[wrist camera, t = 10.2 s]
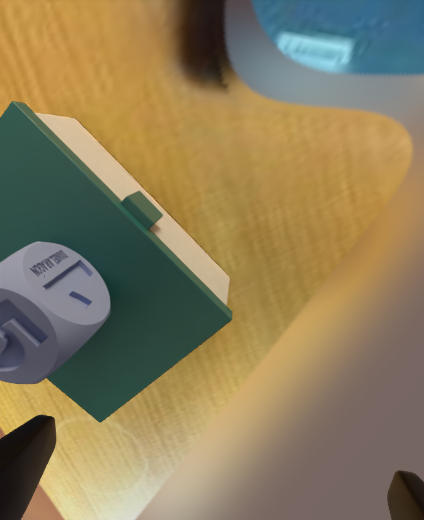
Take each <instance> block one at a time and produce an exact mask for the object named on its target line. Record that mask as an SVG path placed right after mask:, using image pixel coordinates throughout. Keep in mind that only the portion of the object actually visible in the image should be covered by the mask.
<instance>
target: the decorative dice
mask: <svg viewBox="0 0 424 520" xmlns="http://www.w3.org/2000/svg"><path fill="white" fill-rule="evenodd" d="M109 315H110V296H109V292H108V289H107V287H106V284H105V282H104V281H103V279H102V277H101V276H100V274H99V273H98V272H97V270H96V269H95V268H94V267H93V266H92V265H91V264H90V263H89V262H88V261H87V260H86V259H85V258H83V257H82V256H81V255H79V254H78V253H76V252H75V251H73V250H71V249H69V248H67V247H65V246H62V245H59V244H55V243H49V242H40V241H38V242H34V243H32V244H30V245H28V246H26V247H24V248H22V249H20V250H19V251H17V252H15V253H14V254H12V255H11V256H9V257H8V258H6V259H5V260H3V261H2V262H0V380H1V381H4V382H9V383H15V384H36V383H39V382H41V381H42V380H44V379H45V378H47V377H48V376H49V375H51V374H52V373H53V372H54V371H55V370H57V369H58V368H59V367H60V366H61V365H62V364H63V363H65V362H66V361H67V360H68V359H69V358H70V357H71V356H72V355H73V354H74V353H75V352H76V351H78V350H79V349H80V348H81V347H82V346H83V345H84V344H85V343H86V342H87V341H88V340H89V339H90V338H91V337H92V335H93V334H94V333H95V332H96V331H97V330H98V329H99V328H100V327H101V326H102V324H103V323H104V322H105V321H106V319H107V318H108V317H109Z"/></svg>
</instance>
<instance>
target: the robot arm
mask: <svg viewBox="0 0 424 520" xmlns="http://www.w3.org/2000/svg"><path fill="white" fill-rule="evenodd" d="M55 445H56V427H55V419H54V418H53V417H52V416H46V415H38V416H36V417H34V418H32V419H31V420H29V421H28V422H26V423H24V424H23V425H21V426H20V427H18V428H17V429H15V430H13V431H12V432H10V433H9V434H7V435H5V436H4V437H2V438H1V439H0V520H21V518H22V516H23V514H24V512H25V511H26V509H27V507H28V505H29V502H30V500H31V498H32V496H33V494H34V492H35V490H36V488H37V485H38V483H39V481H40V479H41V477H42V475H43V472H44V470H45V468H46V466H47V464H48V462H49V459H50V457H51V455H52V453H53V451H54V448H55ZM387 500H388V506H389V510H390V514H391V519H392V520H424V482H423V481H422V480H421V479H420V478H419V477H418V476H417V475H416V474H414V473H412V472H406V471H397V472H395V474H394V477H393V480H392V483H391V485H390V488H389V491H388V495H387Z"/></svg>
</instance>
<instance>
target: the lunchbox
mask: <svg viewBox="0 0 424 520" xmlns="http://www.w3.org/2000/svg"><path fill="white" fill-rule="evenodd" d="M38 241H40V242H49V243H55V244H59V245H62V246H65V247H67V248H69V249H71V250H73V251H75V252H76V253H78V254H79V255H81V256H82V257H83V258H85V259H86V260H87V261H88V262H89V263H90V264H91V265H92V266H93V267H94V268H95V269H96V270H97V272H98V273H99V274H100V276H101V277H102V279H103V281H104V282H105V284H106V287H107V289H108V292H109V296H110V315H109V317H108V318H107V319H106V321H105V322H104V323H103V324H102V326H101V327H100V328H99V329H98V330H97V331H96V332H95V333H94V334H93V335H92V337H91V338H90V339H89V340H88V341H87V342H86V343H85V344H84V345H83V346H82V347H81V348H80V349H79V350H78V351H76V352H75V353H74V354H73V355H72V356H71V357H70V358H69V359H68V360H67V361H66V362H65V363H63V364H62V365H61V366H60V367H59V368H58V369H57V370H55V371H54V372H53V373H52V374H51V375H49V376H48V377H47V379H48V380H49V381H50V382H52V383H53V384H54V385H55V386H56V387H58V388H59V389H60V390H61V391H62V392H64V393H65V394H66V395H67V396H68V397H70V398H71V399H72V400H73V401H74V402H76V403H77V404H78V405H79V406H80V407H82V408H83V409H84V410H85V411H86V412H88V413H89V414H90V415H91V416H92V417H94V418H95V419H96V420H97V421H98V422H100V423H101V422H102V421H103V420H105V419H106V418H107V417H109V416H110V415H111V414H112V413H114V412H115V411H116V410H117V409H119V408H120V407H121V406H123V405H124V404H125V403H126V402H128V401H129V400H130V399H132V398H133V397H134V396H135V395H137V394H138V393H139V392H140V391H142V390H143V389H144V388H146V387H147V386H148V385H149V384H151V383H152V382H153V381H155V380H156V379H157V378H158V377H160V376H161V375H162V374H163V373H165V372H166V371H167V370H169V369H170V368H171V367H172V366H174V365H175V364H176V363H178V362H179V361H180V360H181V359H183V358H184V357H185V356H186V355H188V354H189V353H190V352H192V351H193V350H194V349H195V348H197V347H198V346H199V345H201V344H202V343H203V342H204V341H206V340H207V339H208V338H209V337H211V336H212V335H213V334H215V333H216V332H217V331H218V330H220V329H221V328H222V327H223V326H225V325H226V324H227V323H229V322H230V321H231V320H232V311H231V310H230V309H229V308H228V307H227V299H228V290H229V282H230V277H229V276H228V275H227V274H226V273H225V272H224V271H223V270H222V269H221V268H220V267H219V266H218V265H217V264H216V263H215V262H214V261H213V260H212V259H211V257H210V256H209V255H208V254H207V253H206V252H205V251H204V250H203V249H202V248H201V247H200V246H199V245H198V244H197V243H196V242H195V241H194V240H193V239H192V238H191V237H190V236H189V235H188V234H187V233H186V232H185V231H184V230H183V229H182V228H181V227H180V226H179V225H178V224H177V223H176V222H175V220H174V219H173V218H172V217H171V216H170V215H169V214H168V213H167V212H166V211H165V210H164V209H163V208H162V207H161V206H160V205H159V204H158V203H157V202H156V201H155V200H154V199H153V198H152V197H151V196H150V195H149V194H148V193H147V192H146V191H145V190H144V189H143V188H142V187H141V186H140V185H139V183H138V182H137V181H136V180H135V179H134V178H133V177H132V176H131V175H130V174H129V173H128V172H127V171H126V170H125V169H124V168H123V167H122V166H121V165H120V164H119V163H118V162H117V161H116V160H115V159H114V158H113V157H112V156H111V155H110V154H109V153H108V152H107V151H106V150H105V149H104V148H103V146H102V145H101V144H100V143H99V142H98V141H97V140H96V139H95V138H94V137H93V136H92V135H91V134H90V133H89V132H88V131H87V130H86V129H85V128H84V127H83V126H82V125H81V124H80V123H79V122H78V121H77V120H76V119H75V118H70V117H63V116H56V115H49V114H41V113H34V112H33V111H32V110H31V109H30V108H29V107H28V106H27V105H26V104H25V103H20V102H14V101H12V102H11V104H10V105H9V106H8V108H7V109H6V111H5V112H4V113H3V115H2V116H1V117H0V262H2V261H3V260H5V259H6V258H8V257H9V256H11V255H12V254H14V253H15V252H17V251H19V250H20V249H22V248H24V247H26V246H28V245H30V244H32V243H34V242H38Z"/></svg>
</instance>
